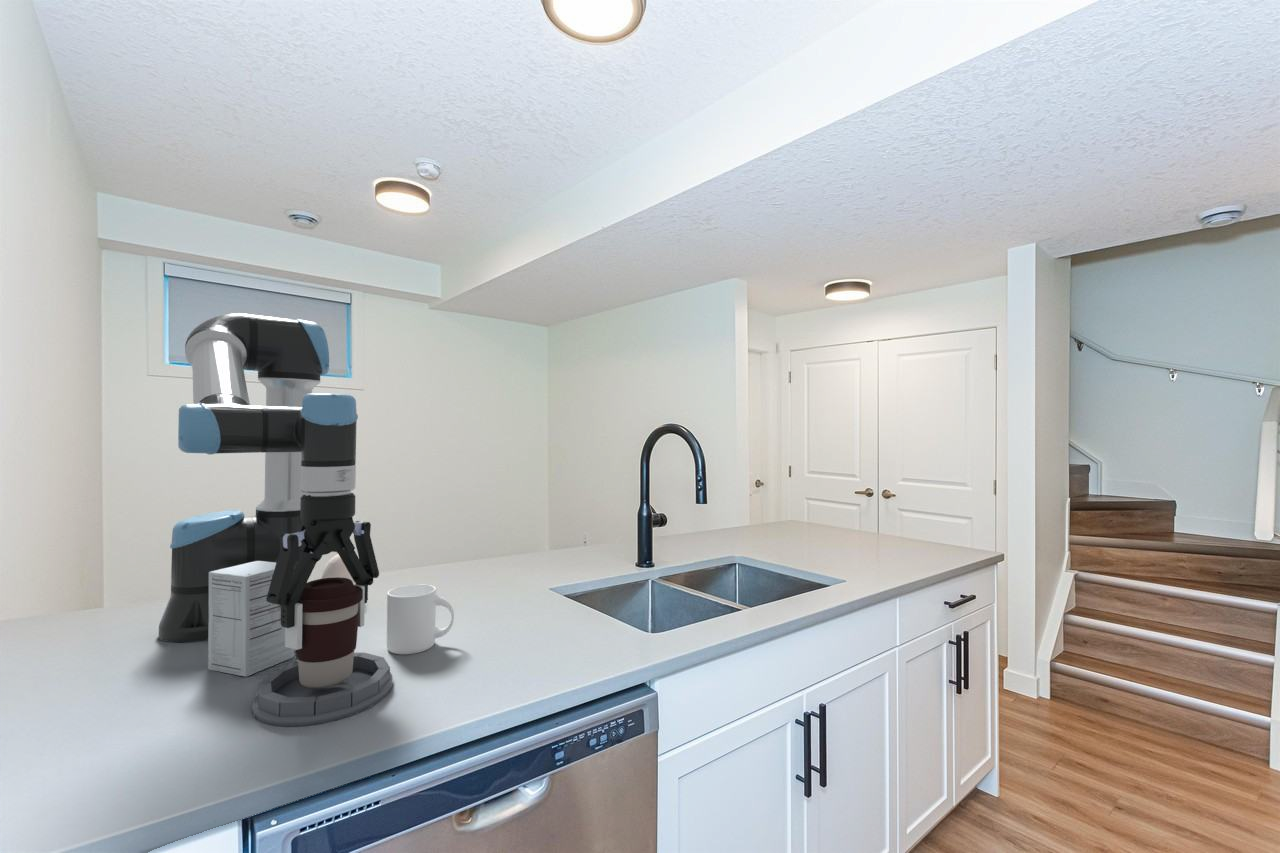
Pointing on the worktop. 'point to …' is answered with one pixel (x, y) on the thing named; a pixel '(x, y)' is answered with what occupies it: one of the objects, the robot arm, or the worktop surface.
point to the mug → (414, 618)
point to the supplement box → (244, 620)
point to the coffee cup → (328, 631)
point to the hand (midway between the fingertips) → (326, 635)
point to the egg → (336, 569)
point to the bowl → (321, 694)
